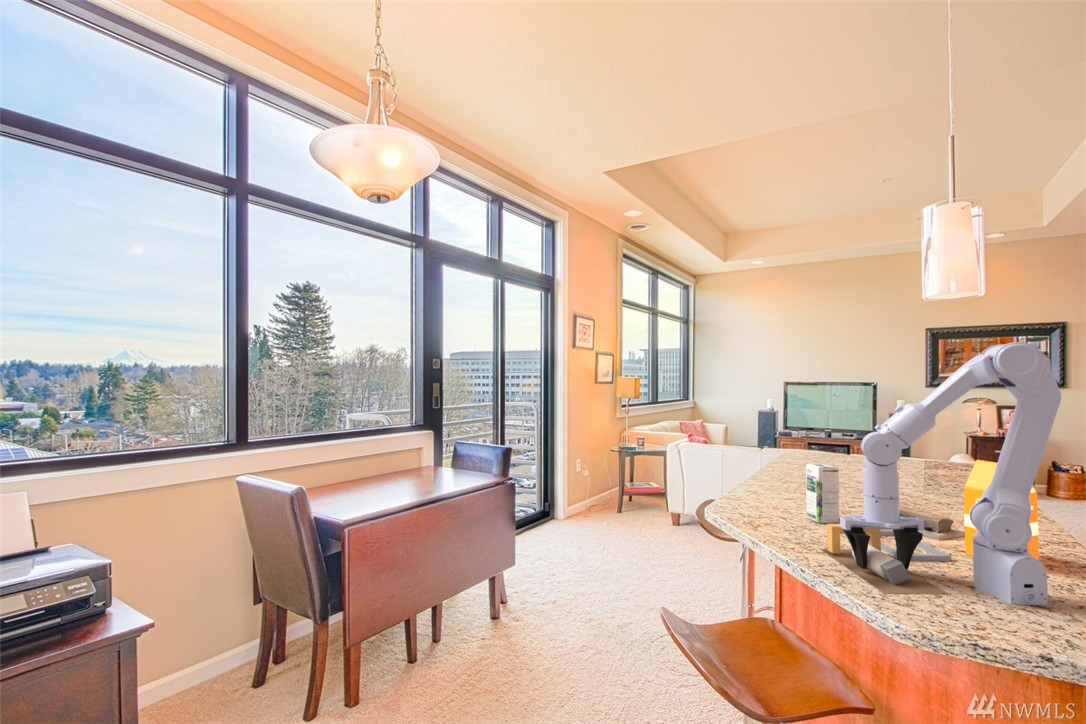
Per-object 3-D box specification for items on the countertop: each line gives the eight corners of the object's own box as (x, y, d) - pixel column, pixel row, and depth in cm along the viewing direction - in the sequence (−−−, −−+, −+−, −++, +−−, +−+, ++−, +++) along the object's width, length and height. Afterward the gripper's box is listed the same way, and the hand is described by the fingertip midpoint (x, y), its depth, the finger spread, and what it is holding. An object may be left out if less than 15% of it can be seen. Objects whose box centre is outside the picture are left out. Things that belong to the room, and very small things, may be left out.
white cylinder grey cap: (913, 579, 90) (903, 559, 91) (892, 588, 91) (882, 568, 91) (875, 557, 101) (867, 538, 102) (857, 565, 102) (848, 547, 102)
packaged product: (865, 503, 134) (891, 499, 138) (865, 521, 134) (891, 517, 138) (938, 521, 117) (966, 517, 121) (939, 542, 117) (966, 537, 121)
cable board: (950, 600, 87) (950, 594, 87) (884, 599, 87) (884, 593, 87) (872, 554, 109) (872, 549, 109) (820, 553, 109) (819, 548, 109)
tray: (951, 565, 102) (951, 555, 102) (902, 565, 102) (902, 555, 102) (897, 538, 119) (897, 530, 119) (855, 538, 119) (855, 529, 119)
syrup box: (805, 517, 136) (804, 463, 137) (826, 516, 137) (825, 463, 137) (819, 523, 131) (817, 467, 131) (840, 523, 131) (839, 466, 131)
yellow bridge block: (881, 553, 105) (880, 527, 105) (832, 553, 105) (832, 526, 105) (875, 550, 107) (874, 524, 107) (827, 549, 107) (827, 523, 107)
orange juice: (1012, 568, 100) (1009, 467, 101) (964, 553, 109) (962, 460, 109) (1039, 564, 102) (1037, 465, 103) (991, 550, 111) (988, 458, 111)
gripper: (854, 500, 93) (855, 575, 93) (935, 501, 93) (936, 576, 92) (833, 491, 100) (834, 560, 100) (909, 492, 100) (910, 561, 99)
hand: (882, 567), depth 97 cm, fingers open, 7 cm apart
